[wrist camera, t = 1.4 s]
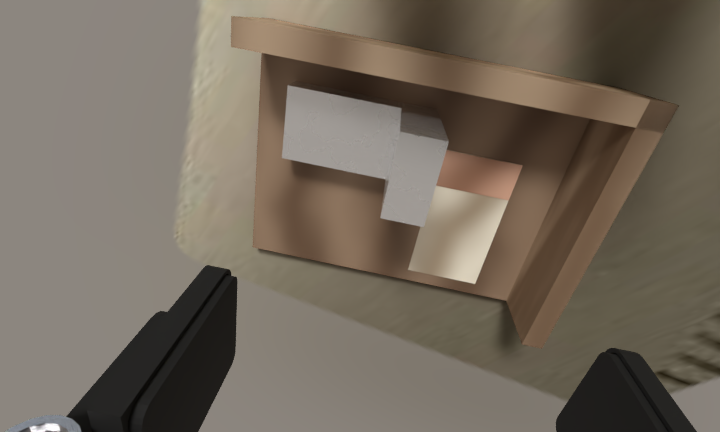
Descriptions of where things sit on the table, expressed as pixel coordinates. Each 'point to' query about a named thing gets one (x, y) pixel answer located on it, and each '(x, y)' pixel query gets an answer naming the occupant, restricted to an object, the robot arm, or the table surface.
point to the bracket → (369, 143)
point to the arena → (455, 169)
